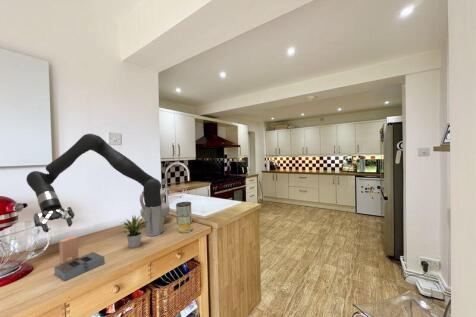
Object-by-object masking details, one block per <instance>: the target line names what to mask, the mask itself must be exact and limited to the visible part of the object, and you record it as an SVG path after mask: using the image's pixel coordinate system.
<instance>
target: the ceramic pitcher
mask: <svg viewBox="0 0 476 317" xmlns="http://www.w3.org/2000/svg"><path fill="white" fill-rule="evenodd" d="M166 192H167V188H165V187H164V188H163V189H162V188H161V189H160V198H161V206H162V216H163V222H164V223H165V222H166V221H165V220H166V218H168V216H169V214H170V212H171V211H170V210H171V208H170V204H169V203H167V202H166V201H165V200H164V197H165V194H166ZM139 204H140V207H141V208H140V212H139V213H140V217H141V219H142V218H143V217H144V218H143V219H142V220H144V219H145V220H144V222H146V214H145V202H144V190H142V191H141V194H140V195H139Z"/></svg>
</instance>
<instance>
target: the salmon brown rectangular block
mask: <svg viewBox="0 0 476 317" xmlns="http://www.w3.org/2000/svg"><path fill="white" fill-rule="evenodd" d="M78 241H79V240H78V236H75V235H73V236H70V237H66V238H62V239H59V241H58V245H59V246H58V247H59V265H60V264H63V263H66V262H68V259H70V258H71V260H74V259H76V258H79V242H78Z"/></svg>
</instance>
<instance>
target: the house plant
mask: <svg viewBox="0 0 476 317" xmlns="http://www.w3.org/2000/svg"><path fill="white" fill-rule="evenodd" d="M140 217H141V215H139V216H138V217H137V216H136V215H133V216H132V218H131V220H132V222H131V221H130V220H129V219H127V218H125V220H126V221H127V222H126V221H125V220H124V221H123V222H121V224H124V225H125V226H123V229H124V230H123V233H122V234H126V233H128V234H127V235H126V239H127V243H128V248H129V249H135V248H138V247H140V245H141V242H142V240H141V239H142V235H143V234H142V232H141V230H142V229H144V228H145V229H146V228H147V227H146V221H145V219H143V218H144V217H143V218H142V217H141V218H140ZM139 219H140V220H139ZM148 222H150V221H148ZM125 229H127V230H125Z"/></svg>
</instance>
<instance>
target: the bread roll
mask: <svg viewBox="0 0 476 317" xmlns="http://www.w3.org/2000/svg"><path fill="white" fill-rule="evenodd" d="M178 226H179V225H178ZM191 230H192V231H193V225H191V224H189V225H187V224H183V225H180V226H179V227H178V228H177V231H178V233H180V234H186V233H187V232H188V233H190V231H191ZM192 231H191V232H192ZM188 233H187V234H188Z"/></svg>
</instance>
